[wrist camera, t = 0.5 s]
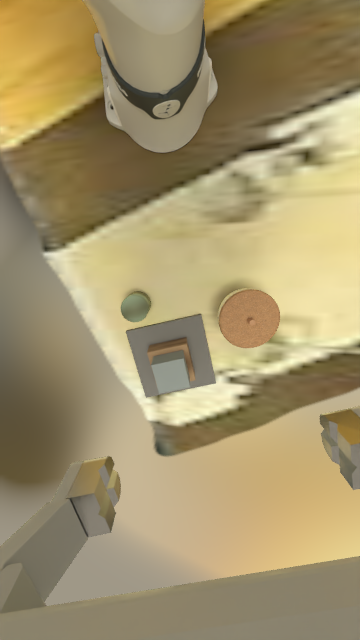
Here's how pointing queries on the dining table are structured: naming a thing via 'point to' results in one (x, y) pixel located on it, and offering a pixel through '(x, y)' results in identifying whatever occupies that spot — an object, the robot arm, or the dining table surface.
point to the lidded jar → (248, 317)
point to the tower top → (170, 371)
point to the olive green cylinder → (135, 306)
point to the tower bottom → (172, 347)
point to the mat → (167, 332)
